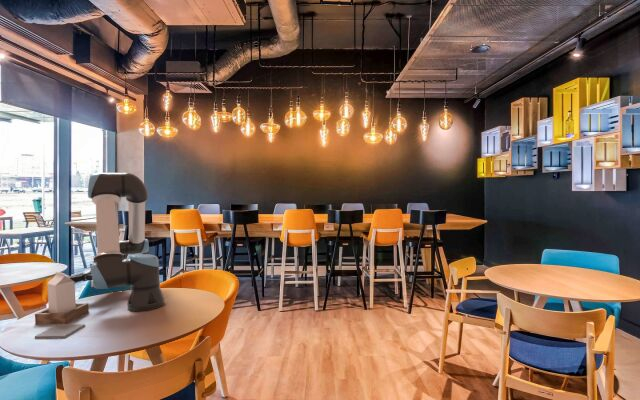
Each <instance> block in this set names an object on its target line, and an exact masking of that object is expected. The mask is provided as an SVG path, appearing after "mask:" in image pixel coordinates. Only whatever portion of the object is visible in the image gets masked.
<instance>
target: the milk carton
mask: <svg viewBox="0 0 640 400" xmlns="http://www.w3.org/2000/svg"><path fill="white" fill-rule="evenodd" d="M70 276H71V275H68V274H66V273H64V272H60V271H56V272H55V275H54V276H53V277H52V278H51V279H50V280H49V281H48V282H47V283H46V284H47V300H48V301H47V302H48V308H49V313H67V312H69V311H71V310H73V309H75V308H76V284H75V283H76V282H74V281H73V280H71V279H69V278H70Z"/></svg>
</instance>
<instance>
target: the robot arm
mask: <svg viewBox="0 0 640 400" xmlns="http://www.w3.org/2000/svg"><path fill="white" fill-rule="evenodd" d="M87 197H88V198H89V199H91V202H92V203H93V204H95V216H96V217H95V218H96V219H95V221H96V248H97V249H96V252H97V254H96V255H95V256H94V257H93V261H91V262H90V263H89V267H90V270H89V272H86V273H85V272H84V273H83V272H80V273H78V274H72V275H69V276H70V278H69V279H71V280H73V281H74V282H75V283H76V282H87V281H90V287H91V288H95V289H96V290H100V289H101V290H102V289H104V290H105V289H106V290H107V289H112V288H116V287H117V288H118V287H126V286H130V290H131V291H130V294H129V298H128V301H127V310H128V311H129V312H130V311H131V312H145V311H146V312H147V311H151V310H155V309H158V308H160V307H163V306H164V305H165V301H166V299H165V297H164V294H163V292H162V290H161V289H162V288H161V284H160V281H161V280H160V261H159V260H160V259H159V258H158V256H157V255H155V254H151V253H150V254H149V253H148V252H149V251H150V249H149V248H150V245H149V239H148V238H146V237H145V234H146V202H147V201H148V190H147V187H146V184H145V183H144V182H143V181H142V179H141V178H139V177H138V176H137V175H136V174H134V173H130V172H95V173H91V174H90V175H89V178H88V185H87ZM122 198H125V199H126V201H127V202H128V203H127V204H128V240H120V231H119V229H120V228H119V227H120V226H119V212H118V204H119V203H120V202H121V200H122ZM127 255H129V258H125V256H127Z"/></svg>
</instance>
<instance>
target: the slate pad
mask: <svg viewBox="0 0 640 400" xmlns="http://www.w3.org/2000/svg"><path fill="white" fill-rule="evenodd" d="M85 326H86V324H85V323H84V324H83V323H79V324H78V323H77V324H76V323H75V324H73V323H72V324H70V323H68V324H54V325H53V326H52V327H50V328H48V329H46V330H44V331H42V332H41V333H38V334H36V335H34V339H65V338H67V337H69V336H71V335H73V334H74V333H77V332H78V331H79V330H82V329H83V328H85Z"/></svg>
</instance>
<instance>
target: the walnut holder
mask: <svg viewBox="0 0 640 400" xmlns="http://www.w3.org/2000/svg"><path fill="white" fill-rule="evenodd" d="M88 313H90V311H89V303H88V302H86V303H85V302H84V303H83V302H77V303H76V308H75V309H73V310H71V311H69V312H67V313H49V307H48V308H46V309H44V310H41V311H39V312H36V313H34V318H35V319H34V321H35V325H65V324H70V323H72V322H74V321H75V320H77V319H80V318H81V317H83V316H85V315H87V314H88Z"/></svg>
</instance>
